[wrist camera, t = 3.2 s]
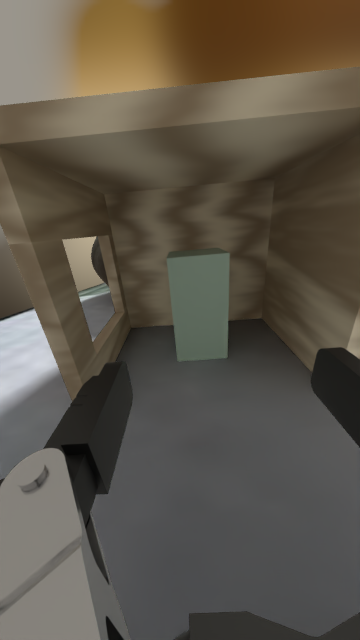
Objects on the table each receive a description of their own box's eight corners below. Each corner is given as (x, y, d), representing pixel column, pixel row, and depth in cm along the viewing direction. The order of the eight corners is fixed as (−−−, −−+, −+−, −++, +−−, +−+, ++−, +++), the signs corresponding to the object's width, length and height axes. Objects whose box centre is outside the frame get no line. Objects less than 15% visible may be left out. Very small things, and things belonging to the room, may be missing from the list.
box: (266, 314, 29) (282, 166, 22) (349, 393, 15) (467, 55, 8) (124, 324, 29) (94, 184, 22) (76, 411, 15) (-46, 110, 8)
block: (218, 334, 25) (218, 247, 21) (227, 358, 20) (229, 253, 16) (177, 337, 25) (169, 251, 21) (177, 361, 20) (166, 258, 16)
